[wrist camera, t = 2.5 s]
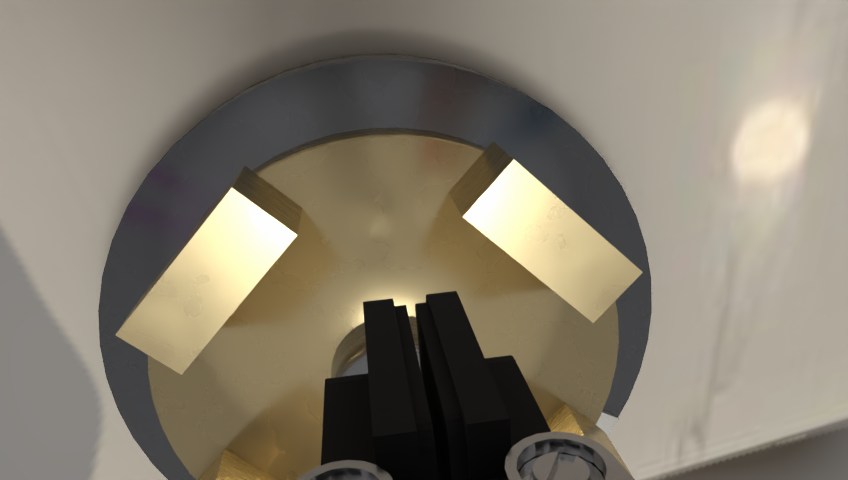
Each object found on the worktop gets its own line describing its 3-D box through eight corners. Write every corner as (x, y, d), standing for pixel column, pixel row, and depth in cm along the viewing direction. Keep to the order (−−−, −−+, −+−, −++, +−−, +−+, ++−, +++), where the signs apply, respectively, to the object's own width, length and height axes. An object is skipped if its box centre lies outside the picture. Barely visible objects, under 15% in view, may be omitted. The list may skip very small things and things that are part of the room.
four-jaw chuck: (111, 152, 24) (57, 188, 19) (606, 105, 26) (665, 128, 21) (208, 551, 31) (185, 648, 26) (596, 492, 33) (639, 574, 28)
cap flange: (59, 80, 26) (23, 90, 23) (634, 31, 28) (669, 34, 25) (180, 542, 34) (165, 593, 31) (617, 478, 37) (641, 520, 34)
